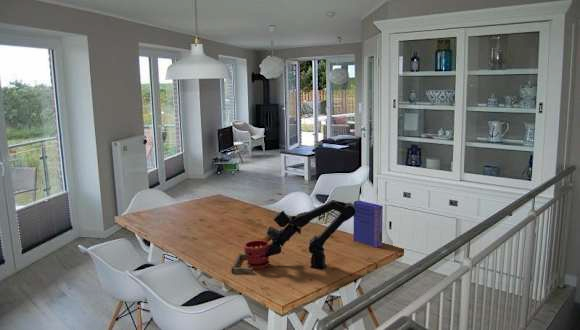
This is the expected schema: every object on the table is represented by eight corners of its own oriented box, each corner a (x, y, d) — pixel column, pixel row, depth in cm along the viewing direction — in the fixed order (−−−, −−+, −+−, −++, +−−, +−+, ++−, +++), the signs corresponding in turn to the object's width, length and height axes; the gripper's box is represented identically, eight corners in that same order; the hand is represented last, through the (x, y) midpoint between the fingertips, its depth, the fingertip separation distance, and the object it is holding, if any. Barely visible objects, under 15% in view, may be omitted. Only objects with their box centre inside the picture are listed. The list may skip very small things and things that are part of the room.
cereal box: (382, 245, 269) (382, 205, 264) (376, 247, 265) (377, 207, 261) (358, 238, 281) (359, 200, 277) (353, 240, 278) (353, 201, 274)
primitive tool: (262, 246, 272) (262, 241, 271) (254, 246, 274) (253, 240, 273) (275, 236, 289) (275, 231, 289) (267, 236, 291) (266, 230, 291)
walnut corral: (258, 258, 253) (258, 254, 252) (252, 273, 233) (252, 268, 232) (239, 258, 253) (238, 253, 253) (231, 273, 233) (231, 268, 233)
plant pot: (273, 261, 247) (272, 240, 245) (266, 271, 235) (265, 248, 233) (249, 260, 250) (248, 238, 248) (241, 269, 238) (240, 247, 236)
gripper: (277, 217, 247) (257, 236, 250) (273, 227, 228) (252, 249, 231) (292, 231, 248) (272, 251, 250) (290, 243, 229) (268, 264, 232)
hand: (266, 253), depth 241 cm, fingers open, 9 cm apart
